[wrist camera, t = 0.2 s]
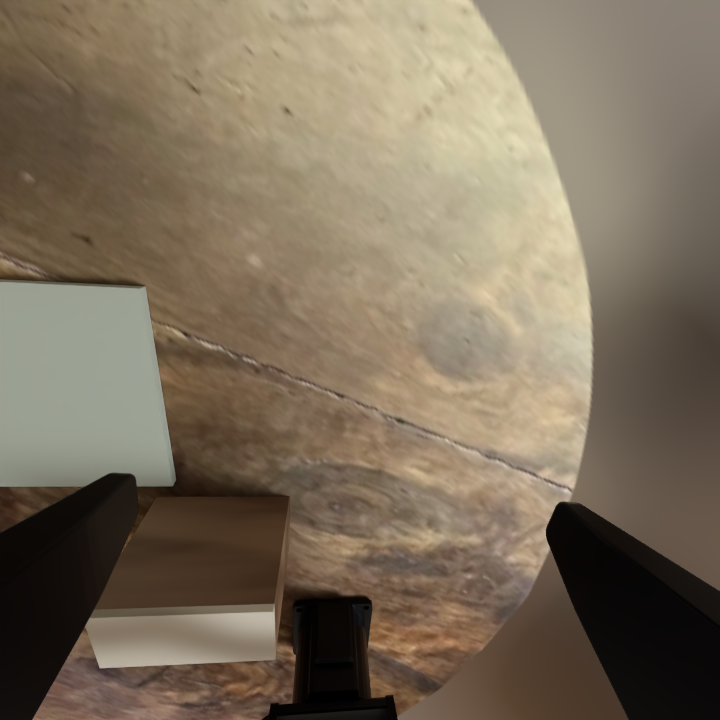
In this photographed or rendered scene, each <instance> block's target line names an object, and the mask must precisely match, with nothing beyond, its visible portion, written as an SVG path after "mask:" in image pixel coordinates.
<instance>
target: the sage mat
mask: <svg viewBox="0 0 720 720" xmlns="http://www.w3.org/2000/svg"><path fill="white" fill-rule="evenodd" d="M114 472H116V473H130V474H133V475H134V476H135V478H136V484H137V486H173V485H174V483H175V481H176V476H175V469H174V463H173V457H172V450H171V444H170V438H169V432H168V425H167V419H166V413H165V406H164V400H163V394H162V388H161V381H160V375H159V369H158V363H157V356H156V350H155V344H154V337H153V331H152V325H151V319H150V312H149V306H148V300H147V293H146V287H145V286H127V285H107V284H87V283H66V282H46V281H26V280H6V279H0V487H84V486H86V485H88V484H90V483H92V482H94V481H95V480H97V479H99V478H101V477H103V476H105V475H107V474H109V473H114Z"/></svg>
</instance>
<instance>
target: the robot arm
mask: <svg viewBox="0 0 720 720" xmlns="http://www.w3.org/2000/svg"><path fill="white" fill-rule="evenodd" d="M138 508H139V505H138V494H137V484H136V478H135V476H134V475H133V474H130V473H116V472H114V473H109V474H107V475H105V476H103V477H101V478H99V479H97V480H95V481H94V482H92V483H90V484H88V485H86V486H84V487H83V488H81V489H79V490H77V491H75V492H73V493H72V494H70V495H68V496H66V497H64V498H62V499H61V500H59V501H57V502H55V503H53V504H51V505H50V506H48V507H46V508H44V509H42V510H40V511H39V512H37V513H35V514H33V515H31V516H29V517H28V518H26V519H24V520H22V521H20V522H18V523H16V524H15V525H13V526H11V527H9V528H7V529H5V530H4V531H2V532H0V720H32V719H33V717H34V716H35V714H36V712H37V710H38V708H39V707H40V705H41V703H42V701H43V700H44V698H45V696H46V694H47V693H48V691H49V689H50V687H51V686H52V684H53V682H54V680H55V678H56V677H57V675H58V673H59V671H60V670H61V668H62V666H63V664H64V663H65V661H66V659H67V657H68V656H69V654H70V652H71V650H72V648H73V647H74V645H75V643H76V641H77V640H78V638H79V636H80V634H81V633H82V631H83V629H84V627H85V626H86V624H87V622H88V620H89V618H90V617H91V615H92V613H93V611H94V609H95V607H96V606H97V604H98V602H99V600H100V598H101V596H102V593H103V591H104V589H105V587H106V585H107V583H108V580H109V578H110V576H111V574H112V572H113V569H114V567H115V565H116V563H117V560H118V558H119V556H120V554H121V551H122V549H123V547H124V545H125V542H126V540H127V538H128V536H129V533H130V531H131V529H132V527H133V525H134V522H135V520H136V517H137V514H138ZM546 538H547V541H548V544H549V546H550V549H551V551H552V554H553V556H554V559H555V561H556V564H557V566H558V569H559V572H560V574H561V577H562V579H563V582H564V584H565V587H566V589H567V592H568V594H569V596H570V599H571V602H572V604H573V606H574V609H575V611H576V613H577V615H578V617H579V620H580V622H581V624H582V626H583V628H584V630H585V632H586V634H587V636H588V638H589V640H590V642H591V644H592V646H593V648H594V650H595V652H596V654H597V657H598V658H599V661H600V663H601V664H602V667H603V669H604V670H605V673H606V675H607V677H608V679H609V681H610V683H611V685H612V687H613V689H614V691H615V693H616V695H617V697H618V699H619V701H620V703H621V705H622V707H623V709H624V711H625V713H626V715H627V717H628V719H629V720H720V591H719V590H717V589H716V588H714V587H712V586H711V585H709V584H707V583H706V582H704V581H703V580H701V579H700V578H698V577H696V576H695V575H693V574H692V573H690V572H688V571H687V570H685V569H684V568H682V567H680V566H679V565H677V564H676V563H674V562H672V561H671V560H669V559H668V558H666V557H664V556H663V555H661V554H659V553H658V552H656V551H655V550H653V549H652V548H650V547H649V546H647V545H645V544H644V543H642V542H641V541H639V540H637V539H636V538H634V537H633V536H631V535H629V534H628V533H626V532H625V531H623V530H621V529H620V528H618V527H617V526H615V525H613V524H612V523H610V522H609V521H607V520H605V519H604V518H602V517H601V516H599V515H597V514H596V513H594V512H592V511H591V510H589V509H588V508H586V507H585V506H583V505H582V504H580V503H576V502H560V503H558V504H557V505H556V507H555V509H554V512H553V514H552V516H551V518H550V521H549V523H548V525H547V528H546ZM371 614H372V601H371V600H369V599H348V600H317V601H297V602H295V603H294V605H293V653H294V654H295V655H296V663H295V676H294V689H293V702H292V704H280V705H279V703H271V706H270V712H269V715H267V716H266V717H264V718H263V719H262V720H398V719H397V714H396V708H395V703H394V698H393V695H386V696H385V697H381V698H371V690H370V678H369V666H368V654H367V648H368V639H369V631H370V623H371Z"/></svg>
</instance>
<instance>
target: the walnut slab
mask: <svg viewBox="0 0 720 720" xmlns="http://www.w3.org/2000/svg"><path fill="white" fill-rule="evenodd" d="M289 542H290V496H263V497H156V498H155V500H154V502H153V503H152V505H151V507H150V508H149V510H148V512H147V513H146V515H145V517H144V518H143V520H142V522H141V523H140V525H139V526H138V528H137V530H136V531H135V533H134V535H133V536H132V538H131V540H130V541H129V543H128V545H127V546H126V548H125V550H124V551H123V553H122V554H121V556H120V558H119V559H118V561H117V563H116V565H115V567H114V569H113V572H112V574H111V576H110V578H109V580H108V583H107V585H106V587H105V589H104V591H103V593H102V596H101V598H100V600H99V602H98V604H97V606H96V607H95V609H94V611H93V613H92V615H91V617H90V618H89V620H88V622H87V624H86V626H85V627H86V629H87V632H88V635H89V638H90V641H91V644H92V647H93V650H94V652H95V655H96V658H97V661H98V664H99V667H100V668H115V667H135V666H156V665H177V664H198V663H219V662H240V661H261V660H275V656H276V648H277V640H278V632H279V624H280V615H281V607H282V599H283V591H284V583H285V575H286V566H287V558H288V550H289Z"/></svg>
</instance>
